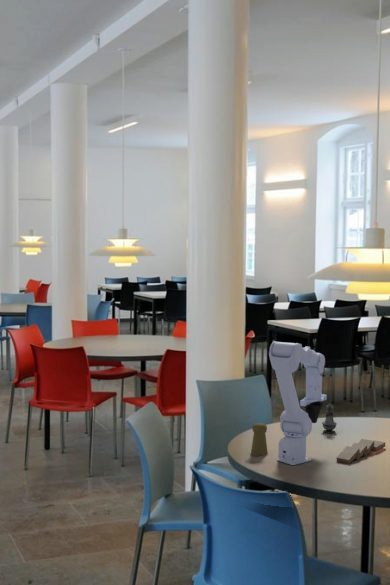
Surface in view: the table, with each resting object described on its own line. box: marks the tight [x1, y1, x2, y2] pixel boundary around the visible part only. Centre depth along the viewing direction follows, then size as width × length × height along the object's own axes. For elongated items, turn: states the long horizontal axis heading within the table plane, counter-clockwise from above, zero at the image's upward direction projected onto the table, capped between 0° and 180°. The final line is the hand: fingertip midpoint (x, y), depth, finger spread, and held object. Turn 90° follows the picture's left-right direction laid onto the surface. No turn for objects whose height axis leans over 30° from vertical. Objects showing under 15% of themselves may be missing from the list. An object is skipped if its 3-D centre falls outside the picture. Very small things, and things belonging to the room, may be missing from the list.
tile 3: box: [358, 438, 375, 458], centre depth 296 cm, size 2×5×8 cm
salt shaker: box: [321, 402, 338, 435], centre depth 327 cm, size 6×6×12 cm
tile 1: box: [335, 445, 360, 465], centre depth 287 cm, size 2×5×8 cm
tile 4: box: [370, 440, 386, 451], centre depth 301 cm, size 2×5×8 cm
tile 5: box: [367, 447, 385, 455], centre depth 299 cm, size 2×5×8 cm
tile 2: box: [350, 442, 367, 461], centre depth 291 cm, size 2×5×8 cm
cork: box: [250, 422, 269, 457], centre depth 294 cm, size 6×6×11 cm
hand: (313, 422), depth 298 cm, fingers closed
